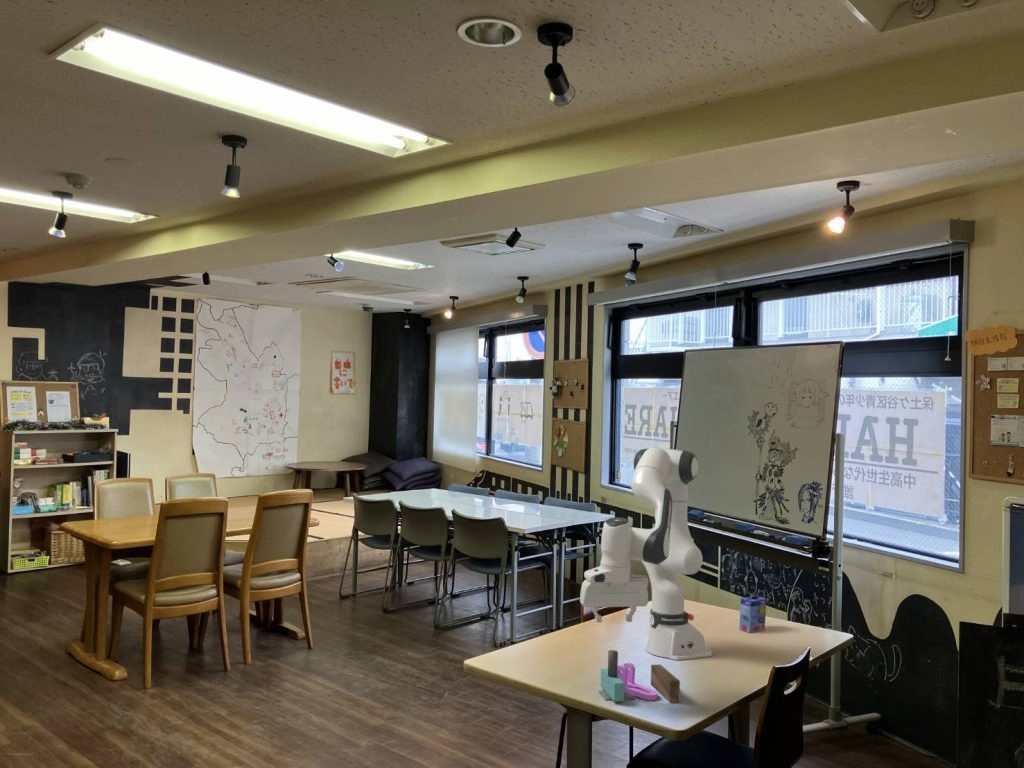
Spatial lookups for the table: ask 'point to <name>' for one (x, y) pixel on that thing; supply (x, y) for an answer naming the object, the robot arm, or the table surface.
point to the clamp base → (658, 685)
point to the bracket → (631, 686)
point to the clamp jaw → (612, 678)
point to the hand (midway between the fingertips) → (613, 621)
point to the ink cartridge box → (752, 613)
